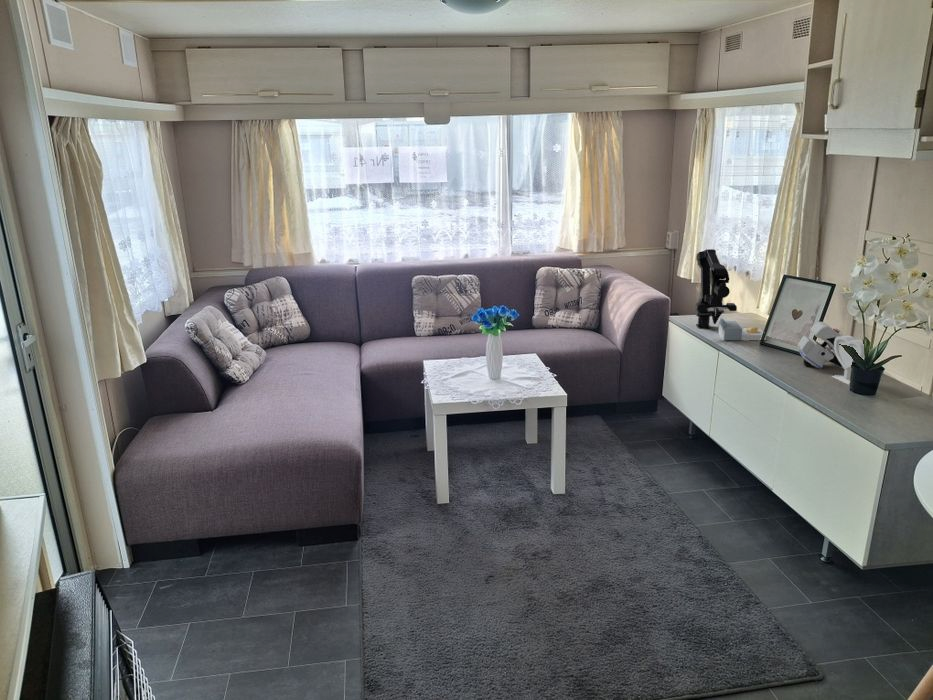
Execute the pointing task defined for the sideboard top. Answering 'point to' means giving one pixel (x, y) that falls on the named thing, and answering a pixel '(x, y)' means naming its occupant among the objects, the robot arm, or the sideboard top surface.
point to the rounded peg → (753, 329)
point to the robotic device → (819, 346)
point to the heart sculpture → (847, 355)
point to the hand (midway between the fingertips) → (714, 323)
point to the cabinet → (731, 330)
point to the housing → (744, 334)
